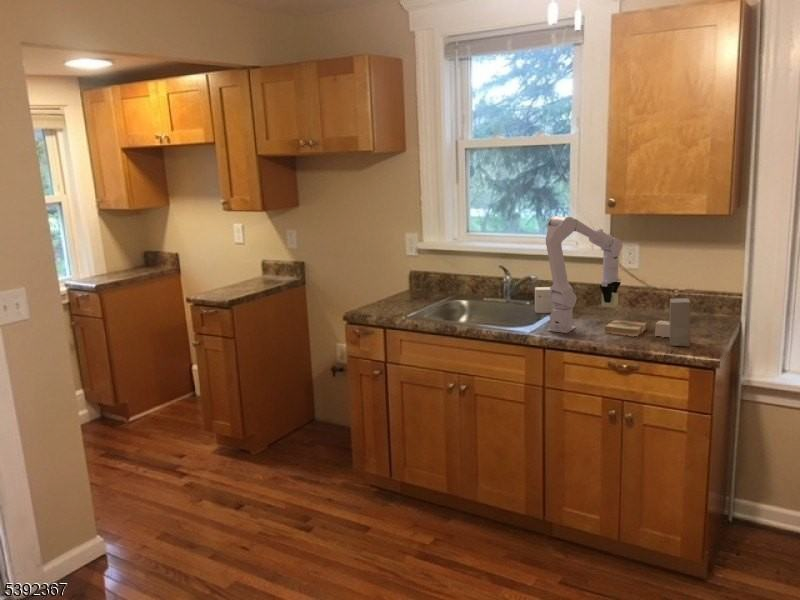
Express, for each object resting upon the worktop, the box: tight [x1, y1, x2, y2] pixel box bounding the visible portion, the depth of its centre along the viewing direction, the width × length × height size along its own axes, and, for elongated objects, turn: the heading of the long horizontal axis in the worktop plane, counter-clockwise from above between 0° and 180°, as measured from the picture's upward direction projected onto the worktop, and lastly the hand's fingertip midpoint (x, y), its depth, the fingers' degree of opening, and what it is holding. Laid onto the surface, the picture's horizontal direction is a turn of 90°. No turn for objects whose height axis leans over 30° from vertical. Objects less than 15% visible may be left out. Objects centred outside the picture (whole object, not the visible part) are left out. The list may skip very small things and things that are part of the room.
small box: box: [534, 286, 553, 314], centre depth 282 cm, size 8×6×10 cm
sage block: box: [601, 292, 619, 308], centre depth 260 cm, size 5×5×5 cm
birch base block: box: [604, 319, 647, 337], centre depth 247 cm, size 12×12×3 cm
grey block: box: [654, 320, 670, 338], centre depth 239 cm, size 5×5×5 cm
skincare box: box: [668, 297, 691, 348], centre depth 227 cm, size 8×7×16 cm
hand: (609, 301), depth 260 cm, fingers closed on sage block, 5 cm apart
